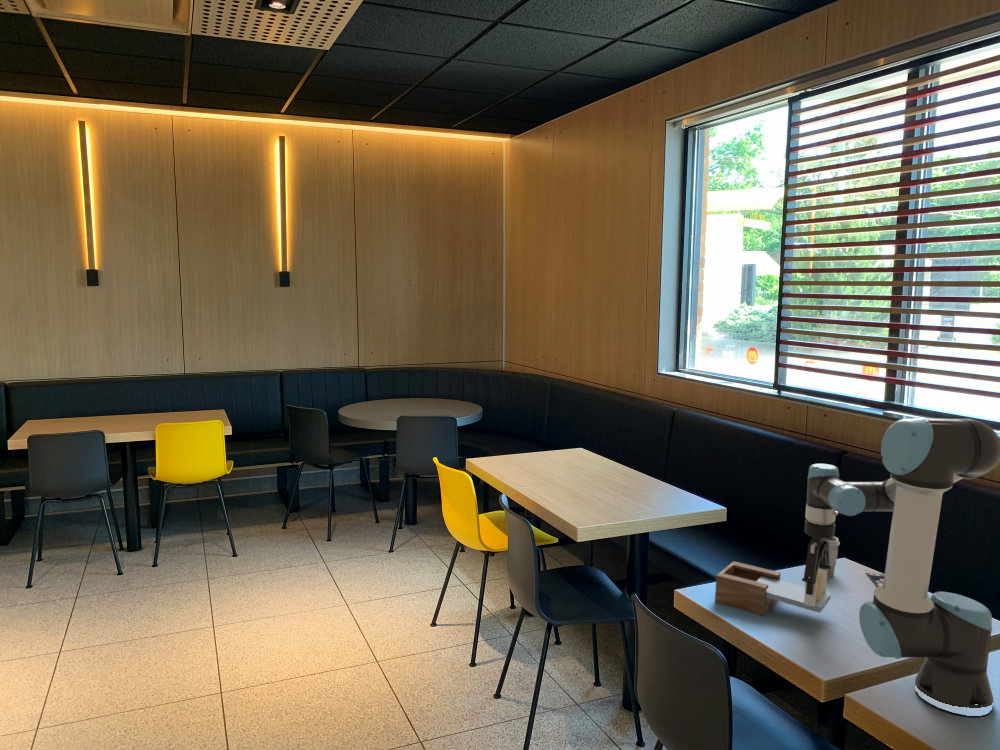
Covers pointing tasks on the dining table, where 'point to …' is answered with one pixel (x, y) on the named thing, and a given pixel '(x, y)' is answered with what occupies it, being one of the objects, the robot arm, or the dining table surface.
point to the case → (744, 588)
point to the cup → (832, 555)
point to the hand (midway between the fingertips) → (815, 597)
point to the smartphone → (876, 578)
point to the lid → (795, 592)
